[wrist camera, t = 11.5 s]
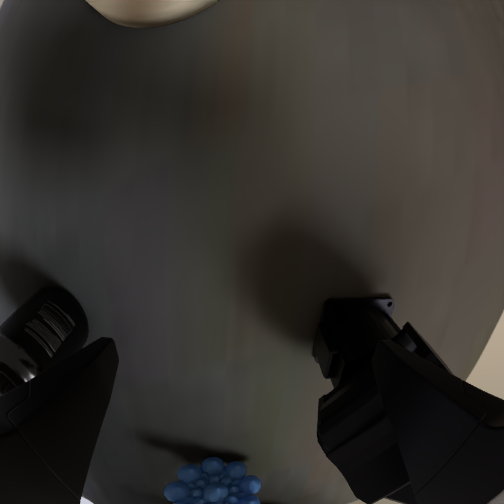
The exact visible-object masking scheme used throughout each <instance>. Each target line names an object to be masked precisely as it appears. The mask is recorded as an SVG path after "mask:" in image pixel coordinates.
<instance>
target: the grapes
mask: <svg viewBox="0 0 504 504" xmlns="http://www.w3.org/2000/svg"><path fill="white" fill-rule="evenodd" d="M246 472H247V467H246V465H245V464H244V463H242V462H240V461H233V462H230V463H228V464H227V465H226V466H225V467H224V462H223V461H222V460H221V459H220V458H218V457H209V458H206V459H204V461H203V462H202V463H201V469H200V468H199V467H198V466H197V465H194V464H188V465H185V466H182V467H181V468H180V470H179V471H178V474H177V477H178V479H179V480H180V481H181V482H180V481H176V482H172V483H169V484H168V485H167V487H166V488H165V489H164V495H165V496H166V498H167V499H168V500H169V501H172V502H176V503H174V504H260V500H259V499H258V498H257V497H256V496H254V495H253V494H255V493H257V492H258V491H259V490H260V488H261V481H260V480H259V478H257V477H256V476H253V475H248V476H245V475H246ZM244 476H245V477H244Z"/></svg>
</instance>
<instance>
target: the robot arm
mask: <svg viewBox="0 0 504 504" xmlns="http://www.w3.org/2000/svg"><path fill="white" fill-rule="evenodd" d="M388 302H390V303H389V304H388ZM394 303H395V302H394V300H393V299H392V298H391V297H375V298H340V299H328V300H326V301H325V303H324V308H323V314H322V319H321V322H320V323H319V324H318V325H317V330H316V336H315V341H314V346H313V348H314V351H315V356H314V359H315V361H316V362H317V363H319V365H320V368H321V371H322V374H323V376H324V377H325V378H326V379H331V382H332V384H333V387H334V389H333V390H332V391H331V392H329V393H328V394H327V395H323V396H322V397H321V398H319V405H318V422H317V438H318V443H319V444H320V446H321V448H322V450H323V451H324V453H325V454H326V457H327V458H328V459H329V460H330V461H331V462H332V463H333V464H334V465H335V466H336V467H337V468H338V469H339V471H340V472H341V473H342V474H343V476H344V477H345V479H346V481H347V482H348V484H349V486H350V488H351V490H352V491H353V493H354V495H355V496H356V498H358V499H360V500H361V501H363V502H365V503H367V504H373V503H375V502H377V501H379V500H381V499H382V498H385V499H389V500H392V501H395V502H399V503H402V504H504V400H503V399H501V398H498V397H496V396H494V395H491V394H489V393H487V392H485V391H483V390H481V389H479V388H477V387H475V386H473V385H471V384H469V383H467V382H465V381H464V380H463V381H462V379H460V378H458V377H456V376H454V375H453V374H452V372H451V371H450V369H449V368H448V366H447V365H446V364H445V363H444V361H443V360H442V359H441V358H440V357H439V355H438V354H437V353H436V352H435V351H434V349H433V348H432V347H431V346H430V345H429V344H428V343H427V342H426V341H425V339H424V338H423V337H422V336H421V335H420V334H419V333H418V332H417V331H416V330H415V329H414V327H413V326H412V325H411V324H410V323H409V322H407V323H406V324H405V325H404V326H403V329H402V330H401V329H400V328H399V327H398V326H397V324H396V323H395V322H394V321H393V319H392V318H391V315H392V311H393V307H394ZM330 304H333V305H332V306H331V307H328V306H329V305H330ZM387 304H388V305H387ZM118 363H119V357H118V353H117V349H116V346H115V342H114V340H113V339H112V338H107V337H101V338H99V339H98V340H96V341H94V342H92V343H91V344H89V345H87V346H86V347H84V348H82V349H81V350H79V351H77V352H76V353H74V354H72V355H71V356H69V357H67V358H65V359H64V360H62V361H60V362H59V363H57V364H55V365H54V366H52V367H50V368H49V369H47V370H45V371H44V372H42V373H40V374H39V375H37V376H35V377H33V378H32V379H30V381H27V382H25V383H23V384H22V385H20V386H18V387H16V388H15V389H13V390H11V391H9V392H7V393H5V394H3V395H1V396H0V504H80V500H81V496H82V492H83V488H84V484H85V481H86V477H87V473H88V469H89V466H90V462H91V459H92V455H93V452H94V448H95V445H96V442H97V439H98V435H99V432H100V429H101V426H102V423H103V420H104V417H105V414H106V411H107V408H108V405H109V402H110V398H111V394H112V389H113V385H114V380H115V376H116V372H117V368H118Z"/></svg>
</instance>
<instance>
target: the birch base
mask: <svg viewBox="0 0 504 504" xmlns="http://www.w3.org/2000/svg"><path fill="white" fill-rule="evenodd" d="M86 1H87V2H88V3H89V4H90V5H91V6H92V7H94V8H95V9H96V10H97V11H98V12H99V13H101V14H102V15H103V16H104V17H105V18H106V19H108V20H109V21H111V22H113V23H115V24H118V25H121V26H125V27H132V28H150V27H158V26H164V25H168V24H172V23H176V22H179V21H182V20H185V19H187V18H189V17H192V16H194V15H196V14H198V13H200V12H202V11H204V10H206V9H207V8H209V7H210V6H212V5H214V4H215V3H216V2H217V1H219V0H86Z"/></svg>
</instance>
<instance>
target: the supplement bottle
mask: <svg viewBox="0 0 504 504" xmlns="http://www.w3.org/2000/svg"><path fill="white" fill-rule="evenodd" d="M88 332H89V330H88V323H87V319H86V317H85V314H84V312H83V311H82V309H81V307H80V306H79V305H78V303H77V302H76V301H75V300H74V299H73V298H72V297H71V296H69V295H68V294H67V293H65V292H63V291H62V290H59V289H56V288H52V287H46V288H42V289H40V290H38V291H37V292H36V293H34V294H33V295H32V296H31V297H30V298H29V299H28V300H26V301H25V302H24V303H23V304H22V305H21V306H20V307H19V308H18V309H17V310H16V311H15V312H14V313H13V314H12V315H11V316H10V317H9V318H8V319H7V320H6V321H5V322H4V323H3V324H2V325H1V326H0V396H1V395H3V394H5V393H7V392H9V391H11V390H13V389H15V388H16V387H18V386H20V385H22V384H23V383H25V382H27V381H30V379H32V378H33V377H35V376H37V375H39V374H40V373H42V372H44V371H45V370H47V369H49V368H50V367H52V366H54V365H55V364H57V363H59V362H60V361H62V360H64V359H65V358H67V357H69V356H71V355H72V354H74V353H76V352H77V351H79V350H81V349H82V347H83V346H84V344H85V343H86V341H87V338H88Z"/></svg>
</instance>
